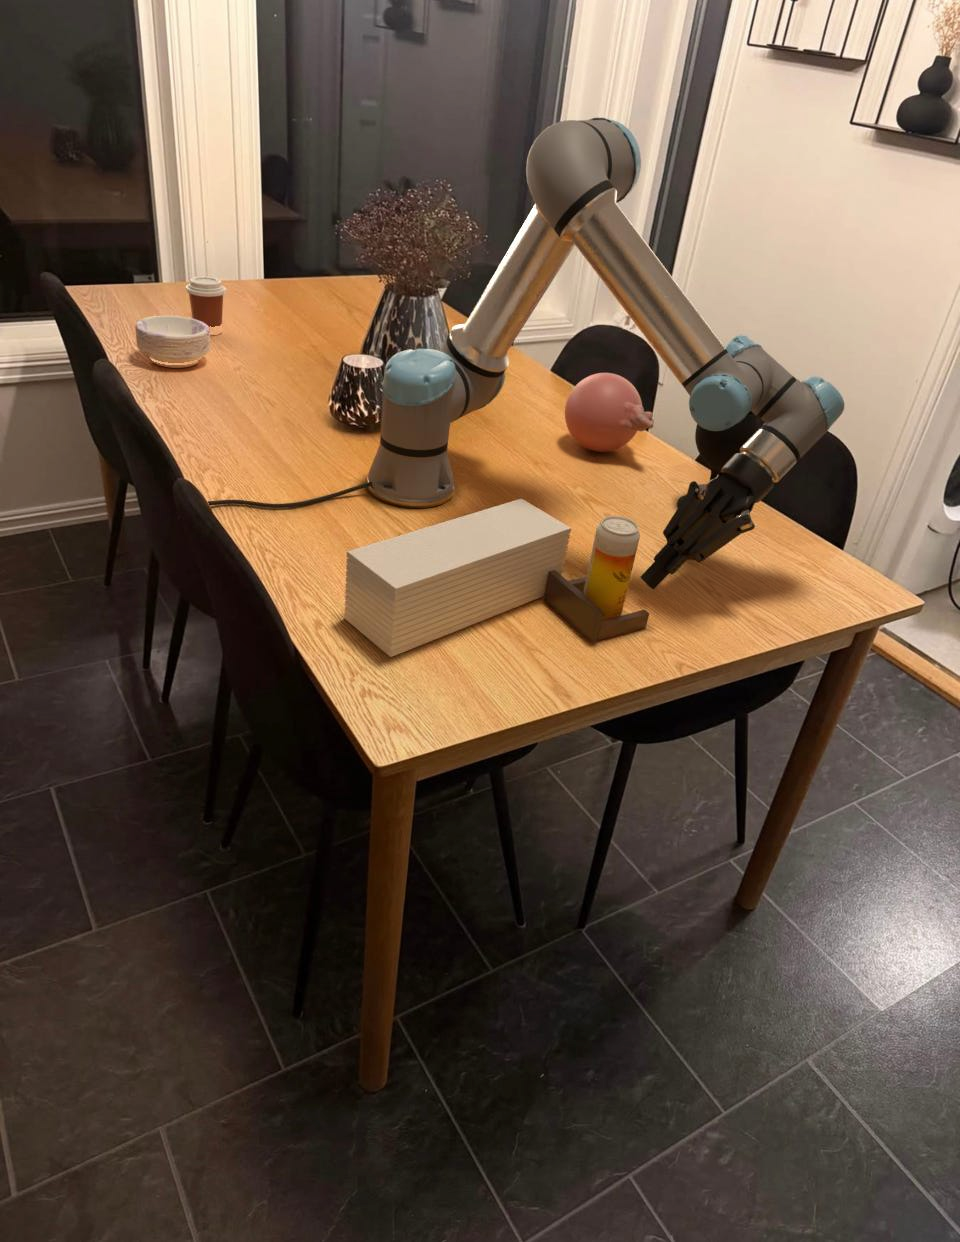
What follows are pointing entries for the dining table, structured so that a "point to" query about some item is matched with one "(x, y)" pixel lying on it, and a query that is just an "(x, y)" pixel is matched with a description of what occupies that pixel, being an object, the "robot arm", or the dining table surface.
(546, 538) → the stack of papers
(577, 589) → the brown wooden u-shaped frame
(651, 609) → the dining table surface
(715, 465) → the wine glass
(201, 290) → the coffee cup
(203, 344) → the paper bowls
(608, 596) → the beer can
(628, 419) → the balloon
